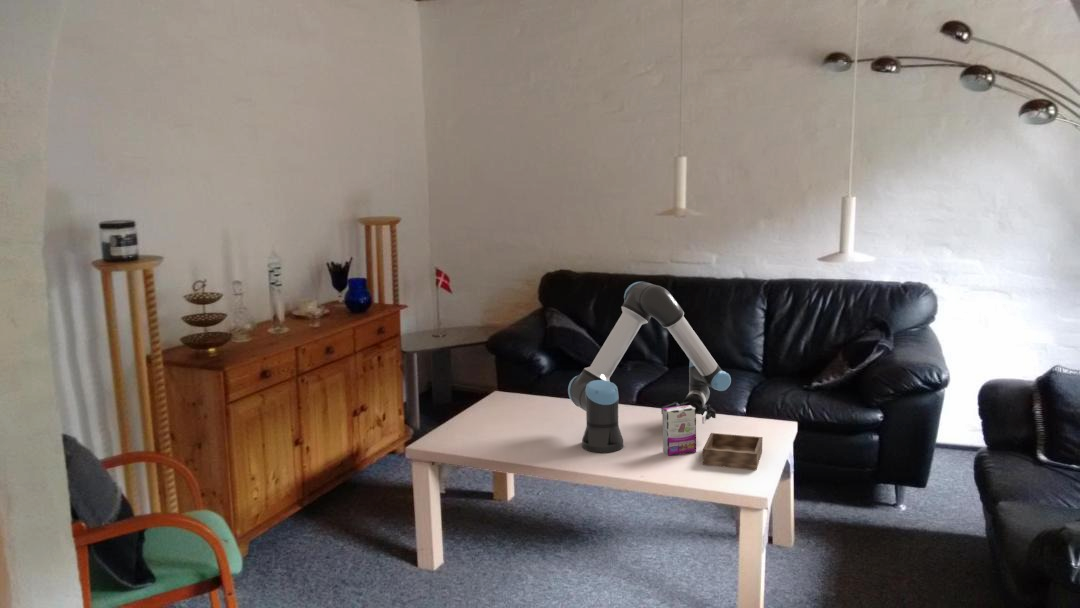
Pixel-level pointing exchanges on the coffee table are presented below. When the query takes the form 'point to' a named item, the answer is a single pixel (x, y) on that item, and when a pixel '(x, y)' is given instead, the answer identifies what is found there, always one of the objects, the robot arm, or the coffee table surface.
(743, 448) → the walnut holder
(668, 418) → the candy bar box
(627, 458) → the coffee table surface
